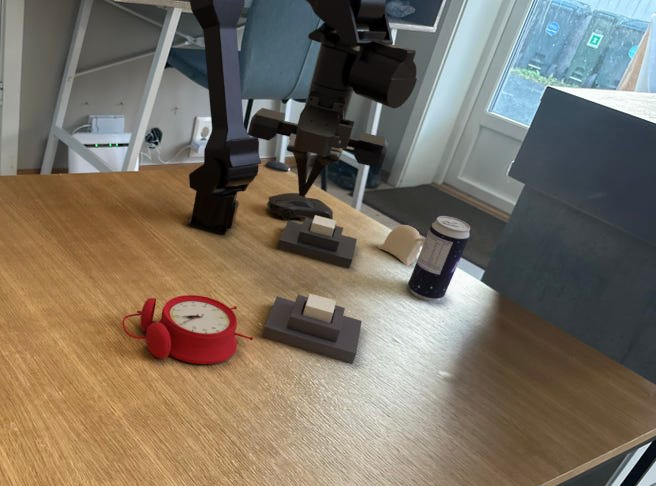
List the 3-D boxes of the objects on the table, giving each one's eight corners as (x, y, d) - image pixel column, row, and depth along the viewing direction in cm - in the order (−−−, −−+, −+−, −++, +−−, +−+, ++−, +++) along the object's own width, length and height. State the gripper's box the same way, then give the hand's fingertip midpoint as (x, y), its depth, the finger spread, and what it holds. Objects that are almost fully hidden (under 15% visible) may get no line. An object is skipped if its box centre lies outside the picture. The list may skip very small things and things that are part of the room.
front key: (302, 316, 91) (305, 305, 90) (306, 304, 94) (309, 293, 93) (329, 324, 91) (333, 313, 90) (332, 311, 93) (336, 300, 92)
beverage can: (444, 306, 107) (475, 235, 100) (407, 298, 107) (436, 225, 101) (440, 290, 112) (470, 220, 105) (404, 281, 112) (432, 211, 105)
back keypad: (276, 249, 114) (282, 229, 113) (285, 229, 122) (290, 210, 120) (349, 269, 113) (355, 249, 111) (354, 247, 120) (360, 229, 118)
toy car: (333, 225, 127) (340, 205, 125) (270, 220, 124) (275, 199, 122) (323, 212, 131) (329, 192, 129) (262, 206, 129) (267, 186, 127)
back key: (309, 232, 114) (312, 222, 113) (312, 224, 117) (315, 214, 116) (331, 238, 114) (334, 228, 113) (333, 230, 117) (336, 220, 116)
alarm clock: (261, 341, 83) (145, 315, 78) (240, 382, 87) (126, 360, 81) (236, 296, 92) (129, 269, 86) (217, 335, 95) (112, 311, 89)
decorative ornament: (392, 245, 124) (402, 216, 121) (428, 267, 118) (440, 238, 115) (376, 247, 122) (386, 219, 119) (412, 270, 116) (423, 240, 113)
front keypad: (261, 337, 91) (267, 314, 89) (273, 306, 99) (279, 284, 97) (352, 364, 89) (360, 341, 87) (358, 330, 97) (366, 309, 95)
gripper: (252, 79, 88) (227, 197, 97) (400, 114, 85) (361, 232, 94) (268, 64, 97) (244, 173, 106) (403, 96, 94) (367, 205, 103)
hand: (302, 195), depth 102 cm, fingers closed
